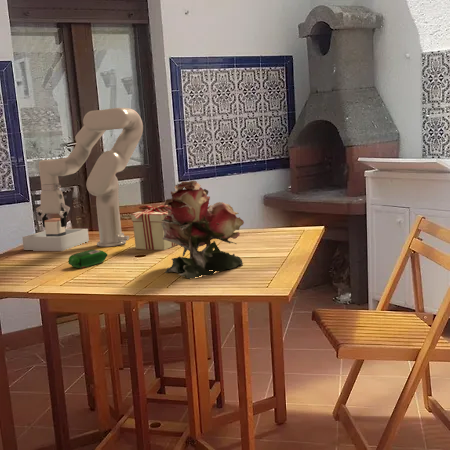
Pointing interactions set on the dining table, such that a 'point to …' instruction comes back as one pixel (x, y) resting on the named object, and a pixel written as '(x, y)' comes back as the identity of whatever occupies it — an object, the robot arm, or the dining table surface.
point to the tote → (55, 240)
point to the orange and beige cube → (53, 226)
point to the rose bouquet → (199, 231)
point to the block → (56, 235)
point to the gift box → (150, 228)
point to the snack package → (87, 258)
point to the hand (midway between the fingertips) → (54, 226)
